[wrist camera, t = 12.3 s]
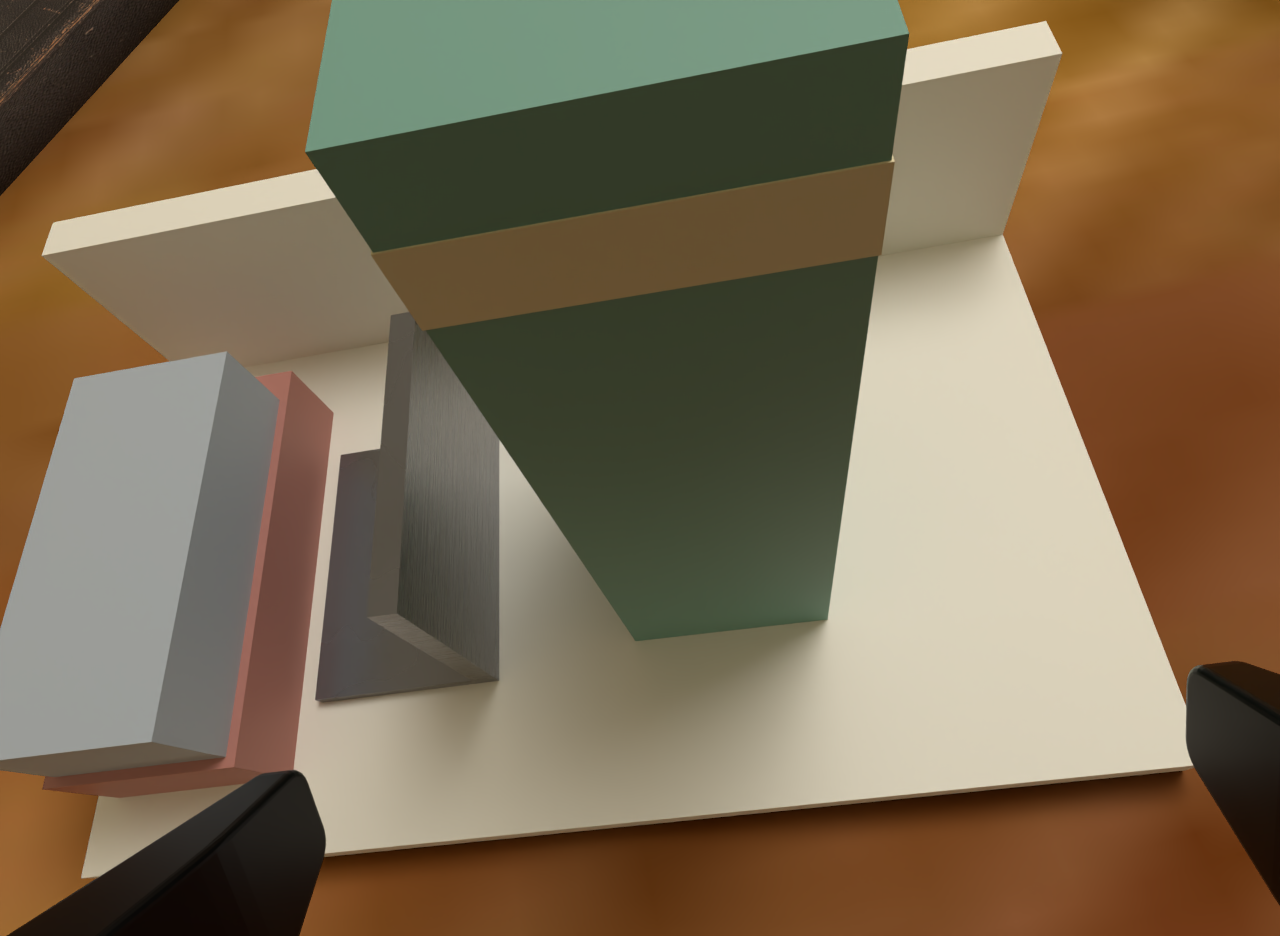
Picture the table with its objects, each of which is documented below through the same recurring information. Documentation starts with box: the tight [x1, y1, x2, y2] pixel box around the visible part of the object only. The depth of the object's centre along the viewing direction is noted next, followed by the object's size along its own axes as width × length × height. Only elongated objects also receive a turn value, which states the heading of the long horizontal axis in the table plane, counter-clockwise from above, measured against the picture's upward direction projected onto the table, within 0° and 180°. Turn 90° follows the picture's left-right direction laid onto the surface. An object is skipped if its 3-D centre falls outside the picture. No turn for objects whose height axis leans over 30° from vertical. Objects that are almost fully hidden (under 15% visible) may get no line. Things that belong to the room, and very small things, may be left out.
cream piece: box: [0, 21, 1194, 878], centre depth 17 cm, size 14×22×6 cm, turn 95°
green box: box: [305, 0, 909, 641], centre depth 12 cm, size 5×4×13 cm
